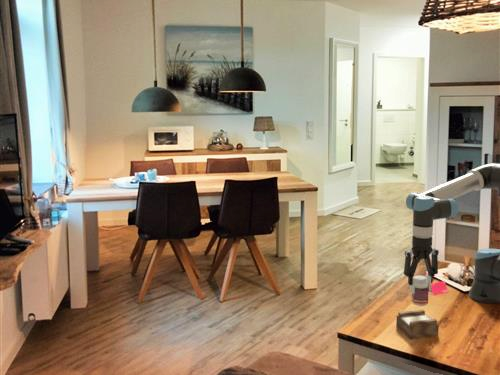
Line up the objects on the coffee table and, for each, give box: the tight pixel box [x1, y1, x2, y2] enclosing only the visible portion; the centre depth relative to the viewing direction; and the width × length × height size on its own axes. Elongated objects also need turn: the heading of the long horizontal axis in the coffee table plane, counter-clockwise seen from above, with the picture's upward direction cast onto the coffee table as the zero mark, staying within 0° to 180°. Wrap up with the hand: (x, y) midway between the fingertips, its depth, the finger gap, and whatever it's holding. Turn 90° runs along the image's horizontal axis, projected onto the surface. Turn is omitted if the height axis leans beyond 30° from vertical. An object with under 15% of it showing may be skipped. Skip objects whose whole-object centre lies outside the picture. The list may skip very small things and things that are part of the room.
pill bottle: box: [411, 274, 429, 307], centre depth 215 cm, size 6×6×11 cm
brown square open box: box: [395, 309, 440, 340], centre depth 218 cm, size 12×12×6 cm
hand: (420, 291), depth 216 cm, fingers closed on pill bottle, 6 cm apart
